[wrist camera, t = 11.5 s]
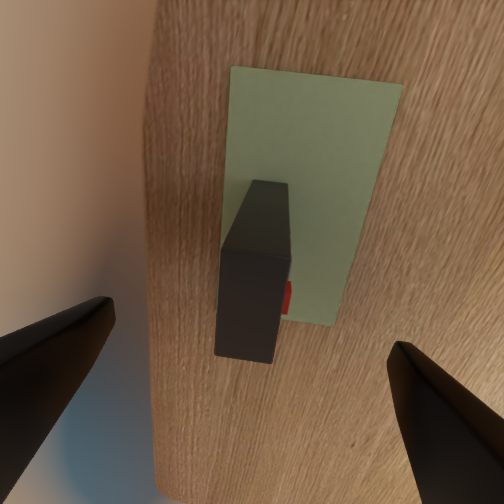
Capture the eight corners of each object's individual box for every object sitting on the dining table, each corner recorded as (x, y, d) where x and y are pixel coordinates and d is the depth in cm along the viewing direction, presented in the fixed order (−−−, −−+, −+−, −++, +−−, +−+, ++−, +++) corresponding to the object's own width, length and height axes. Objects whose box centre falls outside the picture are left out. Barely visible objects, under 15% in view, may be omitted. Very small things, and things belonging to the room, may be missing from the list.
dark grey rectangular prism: (245, 245, 20) (213, 356, 11) (252, 178, 18) (219, 248, 9) (282, 250, 20) (280, 366, 11) (293, 183, 18) (302, 259, 9)
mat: (332, 323, 22) (333, 327, 22) (217, 306, 23) (216, 309, 22) (401, 84, 15) (404, 84, 15) (231, 66, 16) (230, 65, 15)
